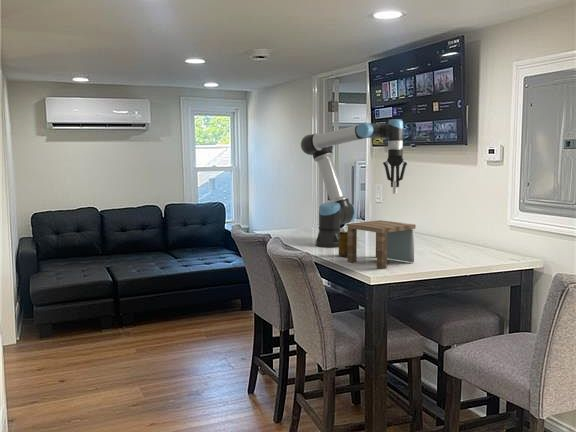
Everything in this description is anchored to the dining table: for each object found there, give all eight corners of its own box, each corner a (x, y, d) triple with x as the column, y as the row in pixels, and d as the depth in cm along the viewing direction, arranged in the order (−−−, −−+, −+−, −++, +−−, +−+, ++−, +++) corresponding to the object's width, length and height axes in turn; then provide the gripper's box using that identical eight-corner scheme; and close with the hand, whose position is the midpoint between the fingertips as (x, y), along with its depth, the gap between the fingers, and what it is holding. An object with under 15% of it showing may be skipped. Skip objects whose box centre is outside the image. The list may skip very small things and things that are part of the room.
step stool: (381, 269, 243) (382, 228, 241) (347, 261, 260) (347, 223, 258) (414, 263, 256) (415, 224, 254) (379, 256, 273) (380, 220, 271)
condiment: (343, 254, 280) (343, 230, 279) (357, 256, 275) (357, 232, 273) (334, 256, 275) (334, 232, 274) (348, 258, 269) (348, 233, 268)
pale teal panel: (412, 262, 255) (413, 230, 253) (385, 258, 265) (385, 227, 263) (414, 261, 256) (415, 229, 254) (387, 257, 266) (387, 227, 265)
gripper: (381, 149, 292) (380, 193, 294) (406, 148, 287) (405, 194, 289) (384, 149, 299) (384, 192, 301) (409, 148, 293) (408, 193, 296)
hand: (394, 193), depth 295 cm, fingers closed
